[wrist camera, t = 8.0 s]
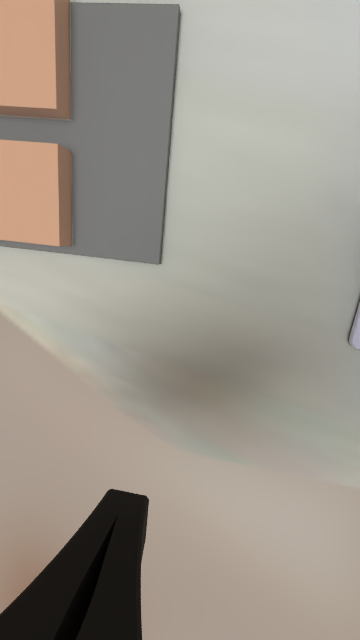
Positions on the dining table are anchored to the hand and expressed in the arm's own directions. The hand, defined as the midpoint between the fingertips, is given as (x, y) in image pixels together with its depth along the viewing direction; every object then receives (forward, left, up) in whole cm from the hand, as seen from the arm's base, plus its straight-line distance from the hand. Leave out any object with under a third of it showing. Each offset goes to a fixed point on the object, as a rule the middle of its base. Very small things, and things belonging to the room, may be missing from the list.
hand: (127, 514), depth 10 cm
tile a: (+7, -17, -9) cm, 20 cm away
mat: (+7, -14, -10) cm, 18 cm away
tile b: (+7, -11, -9) cm, 15 cm away
